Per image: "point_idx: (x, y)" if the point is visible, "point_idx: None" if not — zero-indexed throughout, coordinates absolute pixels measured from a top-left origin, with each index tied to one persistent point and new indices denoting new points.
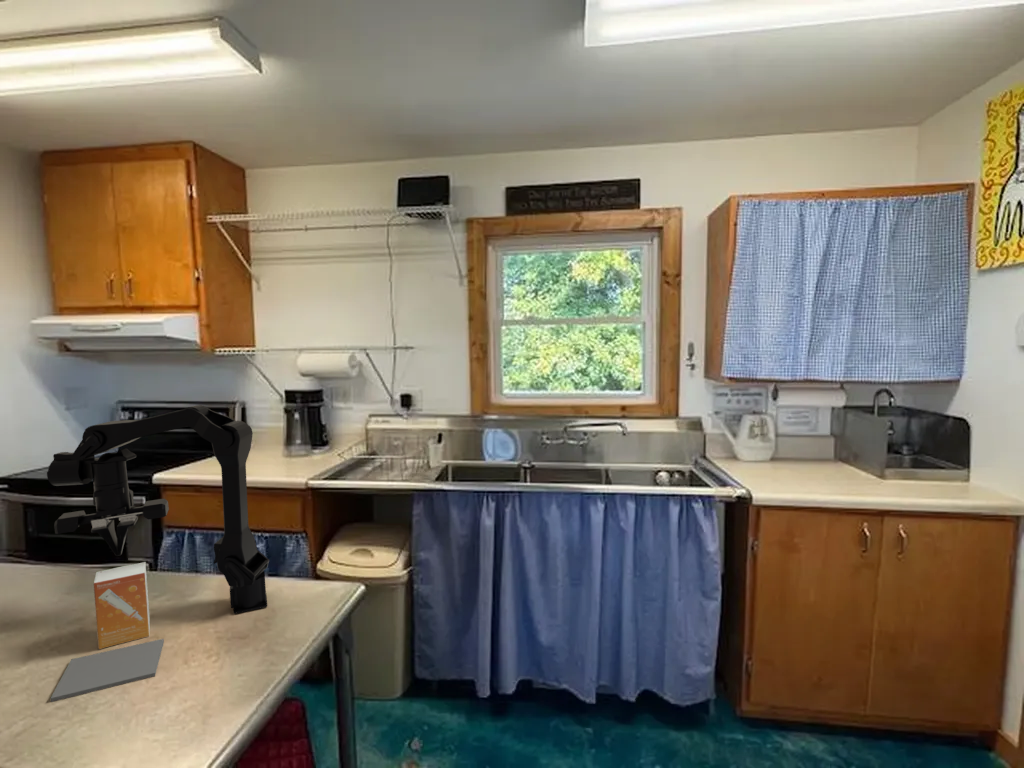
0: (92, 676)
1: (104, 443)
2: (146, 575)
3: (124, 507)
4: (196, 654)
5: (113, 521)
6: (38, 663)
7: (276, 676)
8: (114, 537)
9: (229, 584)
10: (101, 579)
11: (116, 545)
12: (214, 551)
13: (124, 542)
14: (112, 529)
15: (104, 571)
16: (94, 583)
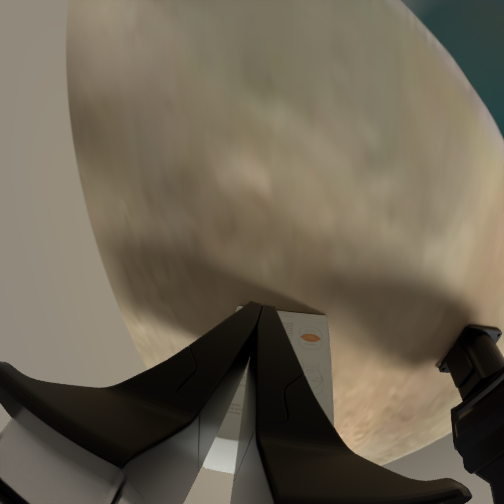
0: None
1: None
2: (333, 415)
3: None
4: (349, 425)
5: (142, 474)
6: (156, 329)
7: (379, 464)
8: (216, 419)
9: (451, 411)
10: (217, 467)
11: (239, 376)
12: (463, 461)
13: (292, 350)
14: (185, 470)
15: (217, 445)
16: (205, 467)
